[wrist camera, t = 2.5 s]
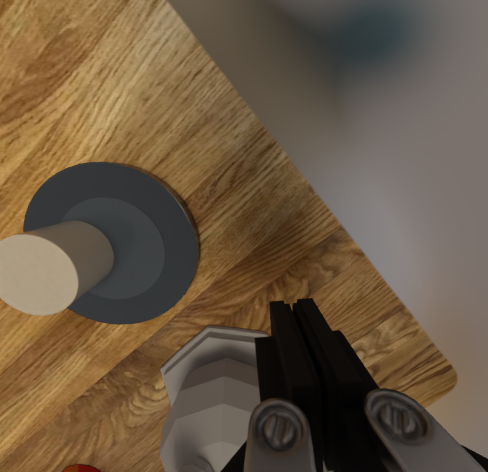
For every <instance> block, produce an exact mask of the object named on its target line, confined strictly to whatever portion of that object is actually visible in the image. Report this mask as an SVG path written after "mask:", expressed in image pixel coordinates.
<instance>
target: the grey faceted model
mask: <svg viewBox="0 0 488 472" xmlns="http://www.w3.org/2000/svg"><path fill="white" fill-rule="evenodd" d="M268 336H269V335H268V334H267V333H266V332H263V331H256V330H248V329H241V328H232V327H222V326H211V325H208V326H207V327H205V328H204V329H203V330H202V331H200V332H199V333H198V334H197V335H196V336H194V337H193V338H192V339H191V340H190V341H188V342H187V343H186V344H185V345H183V346H182V347H181V348H180V349H179V350H178V351H177V352H176V353H175V354H174V355H173V356H172V357H171V358H170V359H169V360H168V361H167V362H166V363H165V364H164V365H163V366H162V367H161V369H160V370H161V373H162V377H163V380H164V383H165V386H166V390H167V393H168V397H169V400H170V404H171V410H170V412H169V414H168V416H167V419H166V421H165V423H164V425H163V428H162V438H161V447H160V457H161V460H162V463H163V466H164V469H165V472H220V471H221V470H222V469H223V468H224V467H225V465H226V464H227V463H228V462H229V461H230V459H231V458H232V457H233V456H234V455H235V453H236V452H237V451H238V450H239V449H240V447H241V446H242V445H243V444H244V442H245V441H246V440H247V435H248V425H249V420H250V416H251V414H252V412H253V410H254V409H255V407H256V406H257V405H259V404H260V394H259V384H258V373H257V362H256V351H255V339H254V338H257V337H268ZM323 472H333V471H327V469H326V467H325V464H324V461H323Z"/></svg>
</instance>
